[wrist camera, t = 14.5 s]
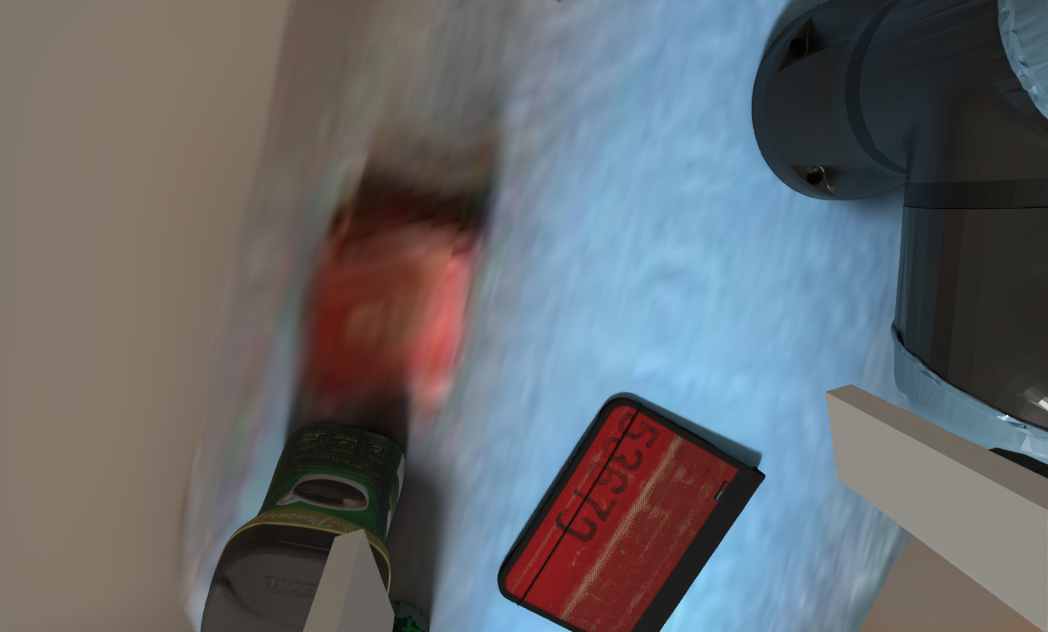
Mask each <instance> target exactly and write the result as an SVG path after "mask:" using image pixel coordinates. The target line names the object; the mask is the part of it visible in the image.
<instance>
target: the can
mask: <svg viewBox="0 0 1048 632" xmlns="http://www.w3.org/2000/svg"><path fill="white" fill-rule="evenodd" d="M390 604H391V606H392V609H393V612H394V623H393V630H392V632H429V629H428V623H426V618H425V617H423V616H421V610H419V609H417V608H414V607H412V606H410V605H408V604H406V603H404V602H402V601H400V603H399V604H396V603H394V602H392V601H390Z"/></svg>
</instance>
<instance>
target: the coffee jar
mask: <svg viewBox="0 0 1048 632" xmlns="http://www.w3.org/2000/svg"><path fill="white" fill-rule="evenodd" d="M404 470H405V460H404V455H403V452H402V450H401V449H400V447H399V446H398V445H397V444H396V443H395V442H394V441H393V440H391V439H389V438H387V437H385V436H382V435H380V434H377V433H373V432H371V431H367V430H364V429H359V428H355V427H350V426H345V425H339V424H329V423H312V424H308V425H306V426H303V427H301V428H299V429H298V430H297V431H296V432H294V433H293V435H292V436H291V437H290V438H289V440H288V442H287V444H286V445H285V448H284V450H283V452H282V454H281V456H280V459H279V461H278V464H277V466H276V469H275V472H274V475H273V478H272V481H271V484H270V487H269V490H268V492H267V495H266V497H265V500H264V503H263V505H262V507H261V509H260V511H259V513H258V515H257V516H256V517H255V518H254V519H252V520H251V521H249V522H248V523H246V524H245V525H243V526H242V527H241V528H239V529H238V530H237V531H236V532H235V533H234V534H233V535H232V536H231V538H230V539H229V540H228V542H227V543H226V545H225V547H224V548H223V551H222V553H221V555H220V557H219V561H218V564H217V567H216V570H215V572H214V575H213V578H212V581H211V585H210V589H209V593H208V596H207V600H206V603H205V608H204V612H203V617H202V623H201V632H303V630H304V627H305V624H306V621H307V618H308V615H309V612H310V609H311V606H312V603H313V601H314V598H315V595H316V592H317V589H318V586H319V583H320V580H321V577H322V574H323V571H324V568H325V565H326V562H327V559H328V556H329V553H330V550H331V548H332V545H333V542H334V539H335V537H337V536H341V535H344V534H347V533H351V532H354V531H358V530H361V529H364V532H365V534H366V537H367V540H368V543H369V545H370V548H371V551H372V554H373V556H374V559H375V562H376V565H377V568H378V570H379V573H380V576H381V579H382V581H383V584H384V587H385V590H386V592H387V595H388V592H389V587H390V578H391V564H390V558H389V555H388V552H387V550H386V547H385V541H386V537H387V534H388V530H389V527H390V524H391V521H392V518H393V515H394V512H395V509H396V506H397V503H398V500H399V496H400V493H401V488H402V484H403V478H404Z"/></svg>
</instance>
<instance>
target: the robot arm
mask: <svg viewBox="0 0 1048 632" xmlns="http://www.w3.org/2000/svg"><path fill="white" fill-rule="evenodd" d="M752 119H753V127H754V132H755V137H756V140H757V143H758V146H759V149H760V151H761V154H762V156H763V158H764V159H765V161H766V163H767V164H768V166H769V167H770V169H771V170H772V171H773V173H774V174H775V175H776V176H777V177H778V178H779V179H780V180H781V181H782V182H783V183H785V184H786V185H787V186H789V187H790V188H791V189H793V190H795V191H797V192H799V193H801V194H803V195H806V196H808V197H812V198H816V199H821V200H858V199H864V198H868V197H872V196H875V195H878V194H881V193H883V192H886V191H888V190H890V189H892V188H894V187H897V186H899V185H901V184H903V183H905V195H904V205H903V216H902V231H901V247H900V261H899V273H898V284H897V296H896V308H895V318H894V321H893V323H892V325H891V336H892V339H893V342H894V378H895V383H896V386H897V388H898V390H899V392H900V394H901V395H902V396H903V397H904V399H905V400H906V401H907V402H908V403H909V404H911V406H912V408H913V409H914V410H915V411H916V412H917V413H919V414H920V415H921V416H923V417H924V418H925V419H927V420H928V421H927V420H924V419H922V418H920V417H918V416H916V415H914V414H912V413H910V412H908V411H906V410H904V409H902V408H899V407H897V406H895V405H893V404H891V403H889V402H887V401H885V400H883V399H881V398H879V397H877V396H874V395H872V394H870V393H868V392H866V391H864V390H862V389H860V388H858V387H856V386H854V385H852V384H850V385H847V386H844V387H840V388H837V389H834V390H830V391H827V392H826V398H827V405H828V412H829V419H830V426H831V433H832V441H833V448H834V455H835V462H836V469H837V476H838V479H839V480H840V481H841V482H843V483H844V484H845V485H847V486H848V487H849V488H851V489H852V490H854V491H855V492H856V493H858V494H859V495H860V496H862V497H863V498H864V499H866V500H867V501H868V502H870V503H871V504H872V505H874V506H875V507H876V508H878V509H879V510H880V511H882V512H883V513H885V514H886V515H887V516H889V517H890V518H891V519H893V520H894V521H895V522H897V523H898V524H899V525H901V526H902V527H903V528H905V529H906V530H907V531H909V532H910V533H911V534H913V535H914V536H916V537H917V538H919V539H920V540H921V541H922V542H924V543H925V544H926V545H928V546H929V547H930V548H932V549H933V550H934V551H936V552H937V553H938V554H940V555H941V556H942V557H944V558H945V559H947V560H948V561H949V562H951V563H952V564H953V565H955V566H956V567H957V568H959V569H960V570H961V571H963V572H964V573H965V574H967V575H968V576H969V577H971V578H972V579H973V580H975V581H976V582H977V583H979V584H980V585H982V586H983V587H984V588H986V589H987V590H988V591H990V592H991V593H992V594H994V595H995V596H996V597H998V598H999V599H1000V600H1002V601H1003V602H1005V603H1006V604H1007V605H1008V606H1010V607H1011V608H1013V609H1014V610H1015V611H1017V612H1018V613H1019V614H1021V615H1022V616H1023V617H1025V618H1026V619H1027V620H1029V621H1030V622H1031V623H1033V624H1034V625H1035V626H1037V627H1038V628H1039V629H1041V630H1042V631H1044V632H1048V0H829V1H827V2H825V3H823V4H821V5H819V6H817V7H815V8H813V9H811V10H809V11H807V12H806V13H804V14H802V15H801V16H799V17H798V18H797V19H795V20H794V21H793V22H792V23H791V24H790V25H788V26H787V27H786V28H785V29H784V30H783V32H782V33H781V34H780V35H779V36H778V37H777V39H776V40H775V41H774V43H773V44H772V46H771V47H770V49H769V51H768V52H767V54H766V56H765V58H764V60H763V62H762V65H761V67H760V70H759V72H758V76H757V79H756V83H755V87H754V93H753V102H752ZM929 421H930V422H929ZM931 422H932V423H931ZM974 443H975V444H974ZM976 444H978V445H976ZM979 445H980V446H979ZM981 446H983V447H986V448H989V450H987V449H985V448H983V447H981ZM393 623H394V612H393V609H392V606H391V604H390V601H389V598H388V595H387V592H386V590H385V587H384V584H383V581H382V579H381V576H380V573H379V570H378V568H377V565H376V562H375V559H374V556H373V554H372V551H371V548H370V545H369V543H368V540H367V537H366V534H365V532H364V529H361V530H358V531H354V532H351V533H347V534H344V535H341V536H337V537H335V539H334V542H333V545H332V548H331V550H330V553H329V556H328V559H327V562H326V565H325V568H324V571H323V574H322V577H321V580H320V583H319V586H318V589H317V592H316V595H315V598H314V601H313V603H312V606H311V609H310V612H309V615H308V618H307V621H306V624H305V627H304V630H303V632H392V630H393Z"/></svg>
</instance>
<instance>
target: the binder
mask: <svg viewBox="0 0 1048 632" xmlns="http://www.w3.org/2000/svg"><path fill="white" fill-rule="evenodd" d="M764 479H765V474H763V473H762V472H761V471H760V470H758V469H757V468H756V467H754V468H753V469H751V468H750V467H748V466H746V465H745V464H743V463H741V462H740V461H738V460H737V459H735V458H733V457H731V456H730V455H728V454H726V453H724V452H723V451H721V450H719V449H718V448H716V447H715V446H714V445H713V444H711V443H709V442H708V441H706V440H704V439H703V438H701V437H699V436H697V435H696V434H694V433H692V432H690V431H689V430H687V429H685V428H683V427H681V426H680V425H678V424H676V423H674V422H672V421H671V420H669V419H667V418H665V417H663V416H662V415H660V414H658V413H656V412H654V411H652V410H650V409H648V408H646V407H644V406H643V405H642V404H641V403H637V402H635V401H633V400H630V399H627V398H616V399H613V400H611V401H610V402H608V403H607V404H606V405H605V406H604V407H603V408H602V410H601V412H600V414H599V417H598V419H597V421H596V423H595V424H594V426H593V428H592V430H591V431H590V433H589V434H588V436H587V438H586V439H585V441H584V442H583V444H582V446H581V447H580V449H579V450H578V452H577V454H576V455H575V457H574V458H573V460H572V462H571V463H570V465H569V466H568V468H567V470H566V471H565V473H564V474H563V476H562V478H561V479H560V480H559V482H558V483H557V485H556V486H555V488H554V489H553V491H552V493H551V495H550V496H549V498H548V499H547V501H546V502H545V504H544V506H543V507H542V509H541V510H540V512H539V513H538V515H537V517H536V518H535V520H534V521H533V523H532V524H531V526H530V528H529V529H528V531H527V532H526V534H525V535H524V537H523V538H522V540H521V542H520V543H518V545H517V546H516V547H515V549H514V550H513V551H512V553H511V554H510V555H509V556H508V558H507V559H506V561H505V562H504V564H503V565H502V567H501V569H500V571H499V573H498V578H497V580H498V587H499V590H500V593H501V594H502V595H503V596H504V597H505V598H506V599H508V600H510V601H512V602H514V603H516V604H517V605H518V606H519V605H520V606H522V607H524V608H526V609H528V610H530V611H532V612H534V613H536V614H538V615H540V616H542V617H544V618H546V619H548V620H550V621H552V622H554V623H556V624H558V625H560V626H562V627H564V628H566V629H568V630H570V631H572V632H660V630H661V629H662V627H663V626H664V624H665V623H666V621H667V620H668V618H669V617H670V616H671V614H672V613H673V611H674V610H675V608H676V607H677V606H678V604H679V603H680V601H681V600H682V598H683V597H684V595H685V594H686V592H687V591H688V589H689V588H690V586H691V585H692V583H693V582H694V580H695V579H696V577H697V576H698V575H699V573H700V572H701V570H702V569H703V567H704V566H705V564H706V563H707V561H708V560H709V558H710V557H711V556H712V554H713V553H714V551H715V550H716V548H717V547H718V545H719V544H720V542H721V541H722V539H723V538H724V536H725V535H726V533H727V532H728V530H729V529H730V528H731V526H732V525H733V523H734V522H735V521H736V519H737V518H738V516H739V515H740V513H741V512H742V510H743V509H744V507H745V506H746V504H747V503H748V501H749V500H750V498H751V497H752V495H753V494H754V493H755V491H756V490H757V488H758V487H759V485H760V484H761V483H762V482H763V480H764Z"/></svg>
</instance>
